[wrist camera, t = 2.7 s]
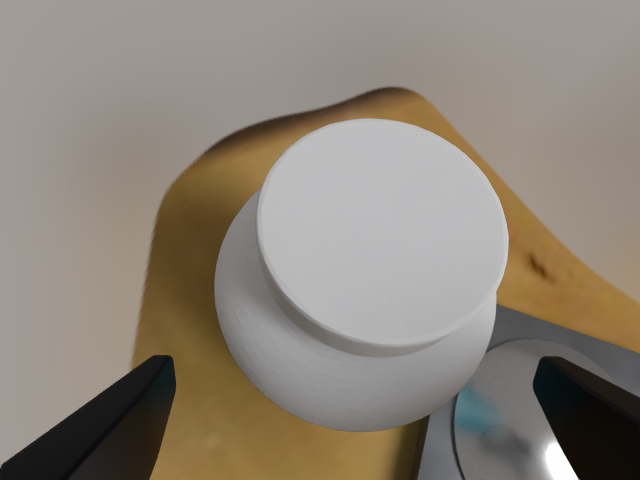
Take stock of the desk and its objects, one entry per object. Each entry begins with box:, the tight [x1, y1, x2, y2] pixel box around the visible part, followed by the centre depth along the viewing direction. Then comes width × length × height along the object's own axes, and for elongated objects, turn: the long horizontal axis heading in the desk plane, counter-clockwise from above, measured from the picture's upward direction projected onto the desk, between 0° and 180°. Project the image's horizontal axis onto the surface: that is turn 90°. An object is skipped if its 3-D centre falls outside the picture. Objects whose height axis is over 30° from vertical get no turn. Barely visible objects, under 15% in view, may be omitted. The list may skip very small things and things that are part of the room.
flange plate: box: [410, 304, 640, 480], centre depth 17 cm, size 11×11×1 cm
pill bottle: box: [214, 119, 509, 432], centre depth 13 cm, size 8×7×14 cm
